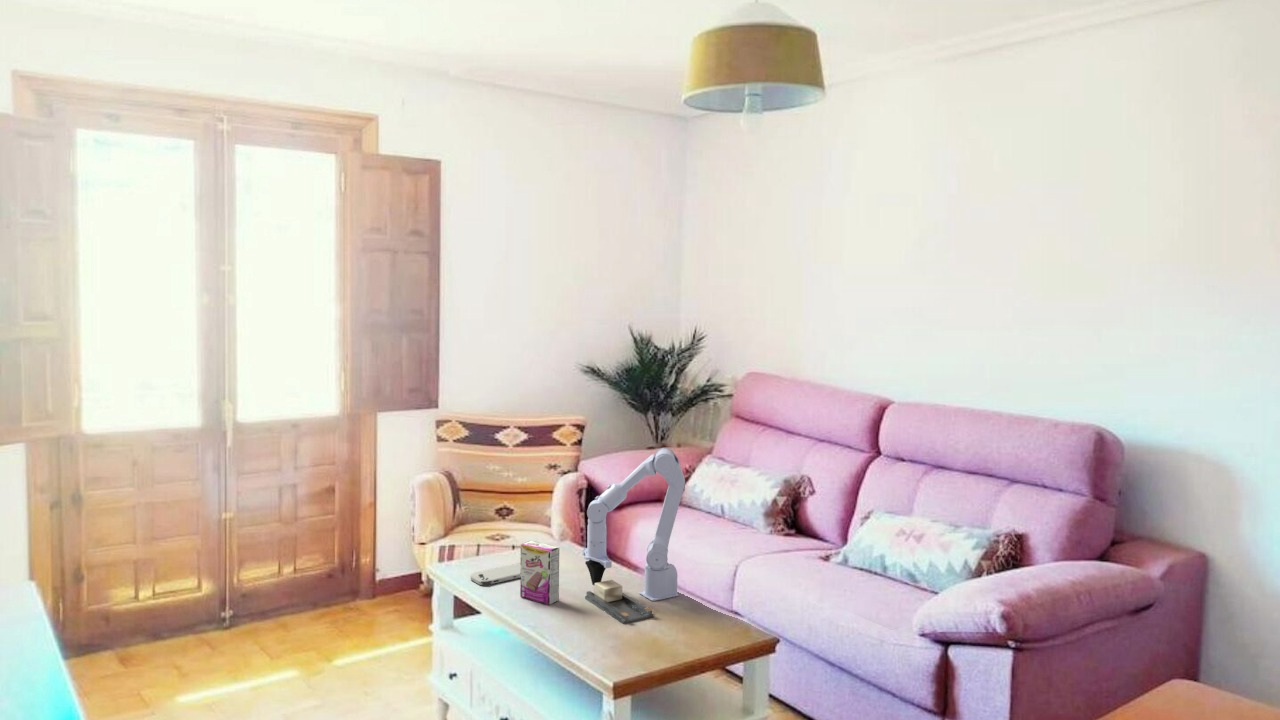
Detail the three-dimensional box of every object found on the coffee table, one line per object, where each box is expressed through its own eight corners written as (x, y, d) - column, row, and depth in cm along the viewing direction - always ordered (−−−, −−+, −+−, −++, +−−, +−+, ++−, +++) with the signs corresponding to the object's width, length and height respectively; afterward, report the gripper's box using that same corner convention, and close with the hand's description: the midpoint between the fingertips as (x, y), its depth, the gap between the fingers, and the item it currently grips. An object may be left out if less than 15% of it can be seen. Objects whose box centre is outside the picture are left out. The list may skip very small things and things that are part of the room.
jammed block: (611, 592, 269) (612, 579, 268) (622, 599, 264) (622, 585, 263) (594, 596, 266) (594, 583, 265) (604, 602, 260) (604, 589, 260)
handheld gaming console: (530, 557, 296) (546, 566, 288) (530, 565, 296) (546, 574, 288) (466, 571, 282) (481, 580, 274) (466, 579, 282) (481, 588, 274)
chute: (614, 592, 272) (614, 585, 271) (653, 617, 253) (653, 609, 253) (585, 598, 266) (585, 591, 266) (623, 623, 248) (623, 615, 247)
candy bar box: (519, 597, 266) (519, 543, 264) (530, 593, 270) (530, 539, 268) (549, 606, 260) (549, 550, 258) (559, 600, 264) (560, 546, 263)
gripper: (573, 536, 273) (573, 579, 275) (596, 549, 261) (596, 594, 262) (594, 532, 277) (593, 575, 278) (617, 545, 265) (617, 590, 266)
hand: (596, 584), depth 271 cm, fingers closed
